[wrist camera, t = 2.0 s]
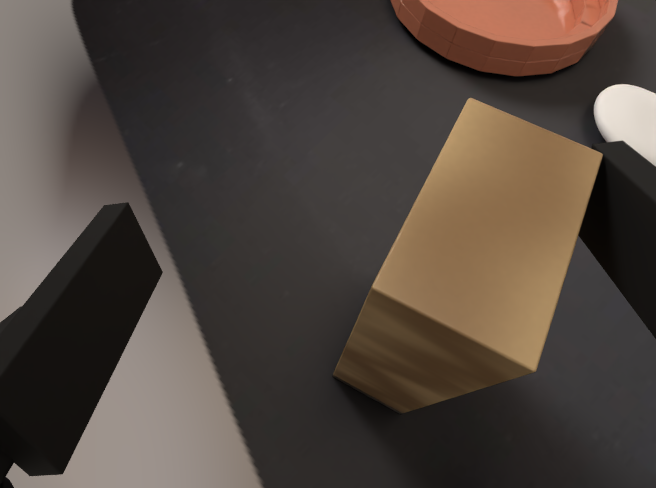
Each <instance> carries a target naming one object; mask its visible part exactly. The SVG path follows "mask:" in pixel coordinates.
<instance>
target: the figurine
mask: <svg viewBox="0 0 656 488" xmlns="http://www.w3.org/2000/svg"><path fill="white" fill-rule="evenodd" d="M594 118H595V122H596V125H597V127H598V130H599V131H600V133H601V135H602V137H603V138H604V139H605V141H606V142H614V141H622V140H623V141H624V142H625V143H627V144H628V145H629V146H630V147H632V148H633V149H634V150H635V151H637V152H638V153H639V154H640V155H642V156H643V157H644V158H645V159H647V160H648V161H649V162H651V163H652V164H653V165H654V166H656V94H655V93H653V92H650V91H648V90H645V89H643V88H640V87H637V86H633V85H627V84H620V85H613V86H610V87H608V88H606V89H605V90H603V91H602V92H601V93H600V94H599V95H598V97H597V99H596V101H595V104H594Z"/></svg>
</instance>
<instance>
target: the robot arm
mask: <svg viewBox="0 0 656 488" xmlns="http://www.w3.org/2000/svg"><path fill="white" fill-rule="evenodd" d="M591 149H593V150H595V151H598V152H600V153H602V154H603V157H602V160H601V163H600V167H599V170H598V173H597V176H596V179H595V183H594V186H593V189H592V192H591V196H590V199H589V202H588V205H587V208H586V212H585V215H584V218H583V221H582V225H581V228H580V231H579V234H578V235H579V237H580V238H581V239H582V241H583V242H584V243H585V245H586V246H587V247H588V249H589V250H590V251H591V253H592V254H593V255H594V257H595V258H596V259H597V261H598V262H599V263H600V265H601V266H602V267H603V269H604V270H605V271H606V273H607V274H608V275H609V277H610V278H611V279H612V281H613V282H614V283H615V285H616V286H617V287H618V289H619V290H620V292H621V293H622V294H623V296H624V297H625V298H626V300H627V301H628V302H629V304H630V305H631V306H632V308H633V309H634V310H635V312H636V313H637V314H638V316H639V317H640V318H641V320H642V321H643V322H644V324H645V325H646V326H647V328H648V329H649V330H650V332H651V333H652V334H653V336H654V337H655V338H656V166H654V165H653V164H652V163H651V162H649V161H648V160H647V159H645V158H644V157H643V156H642V155H640V154H639V153H638V152H637V151H635V150H634V149H633V148H632V147H630V146H629V145H628V144H627V143H625V142H624V141H623V140H622V141H614V142H606V143H598V144H592V148H591ZM161 275H162V270H161V268H160V266H159V264H158V262H157V260H156V258H155V256H154V254H153V252H152V250H151V248H150V246H149V244H148V241H147V240H146V238H145V235H144V234H143V231H142V229H141V227H140V225H139V223H138V221H137V219H136V217H135V215H134V213H133V211H132V209H131V207H130V205H129V203H120V204H112V205H104V206H103V208H102V209H101V210H100V211H99V213H98V214H97V215H96V216H95V217H94V219H93V220H92V221H91V222H90V224H89V225H88V226H87V227H86V229H85V230H84V231H83V232H82V233H81V235H80V236H79V237H78V238H77V240H76V241H75V242H74V243H73V245H72V246H71V247H70V248H69V250H68V251H67V252H66V253H65V254H64V256H63V257H62V258H61V259H60V261H59V262H58V263H57V264H56V266H55V267H54V268H53V269H52V270H51V272H50V273H49V274H48V275H47V277H46V278H45V279H44V280H43V282H42V283H41V284H40V285H39V287H38V288H37V289H36V290H35V292H34V293H33V294H32V295H31V296H30V298H29V299H28V300H27V301H26V303H25V304H24V305H23V306H22V307H19V308H18V309H17V310H16V311H14V312H13V313H12V314H11V315H9V316H8V317H7V318H6V319H4V320H3V321H2V322H0V488H14V487H13V485H12V483H11V482H10V480H9V479H7V478H6V475H7V473H8V471H9V470H10V468H11V466H12V465H13V463H15V464H17V465H18V466H19V467H20V468H21V469H23V471H25V472H26V473H27V474H28V475H29V476H39V475H40V476H41V475H58V474H63V473H64V471H65V469H66V467H67V464H68V462H69V460H70V458H71V456H72V454H73V452H74V450H75V448H76V446H77V444H78V442H79V440H80V438H81V436H82V434H83V432H84V430H85V428H86V426H87V424H88V422H89V420H90V418H91V416H92V414H93V412H94V410H95V408H96V406H97V404H98V402H99V400H100V398H101V396H102V394H103V392H104V390H105V388H106V386H107V384H108V382H109V380H110V377H111V375H112V373H113V372H114V370H115V368H116V366H117V364H118V362H119V360H120V358H121V356H122V353H123V351H124V349H125V347H126V345H127V343H128V341H129V339H130V337H131V335H132V333H133V331H134V329H135V327H136V325H137V323H138V321H139V319H140V317H141V315H142V313H143V311H144V309H145V307H146V305H147V303H148V301H149V299H150V297H151V295H152V293H153V291H154V289H155V287H156V285H157V283H158V281H159V279H160V277H161Z"/></svg>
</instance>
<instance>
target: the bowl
mask: <svg viewBox="0 0 656 488" xmlns="http://www.w3.org/2000/svg"><path fill="white" fill-rule="evenodd" d="M391 2H392V5H393V8H394V10H395V13H396V15H397V17H398V19H399V20H400V21H401V22H402V23H403V24H404V26H405V27H406V28H407V29H408V30H409V31H410V32H411V33H412V35H413V36H414V37H415V38H416V39H417V40H418V41H420V42H422V43H423V44H425V45H426V46H428V47H429V48H431V49H432V50H434V51H435V52H437V53H438V54H440V55H441V56H443V57H445V58H446V59H449V60H451V61H454V62H457V63H459V64H462V65H465V66H467V67H470V68H473V69H475V70H478V71H482V72H489V73H496V74H502V75H509V76H529V75H540V74H550V73H553V72H556V71H558V70H560V69H563V68H565V67H568V66H570V65H573V64H575V63H577V62H578V61H579V60H580V59H581V58H582V57H583V56H584V55H585V54H586V53H587V52H588V51H589V50H590V49H591V48H592V47H593V45H594V44H595V43H596V41H597V40H598V38H599V37H600V36H601V34H602V33H603V31H604V30H605V29H606V27H607V26H608V25H609V23H610V22H611V20H612V19H613V18H614V16H615V12H616V7H617V3H618V0H391Z"/></svg>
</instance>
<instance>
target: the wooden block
mask: <svg viewBox="0 0 656 488" xmlns="http://www.w3.org/2000/svg"><path fill="white" fill-rule="evenodd" d="M602 157H603V154H602V153H600V152H598V151H595V150H593V149H591V148H588V147H586V146H584V145H581V144H579V143H576V142H574V141H572V140H569V139H567V138H565V137H562V136H560V135H558V134H555V133H553V132H550V131H548V130H546V129H543V128H541V127H539V126H536V125H534V124H532V123H529V122H527V121H524V120H522V119H520V118H517V117H515V116H513V115H510V114H508V113H505V112H503V111H501V110H498V109H496V108H494V107H491V106H489V105H487V104H484V103H482V102H479V101H477V100H475V99H472V98H469V99H468V100H467V102H466V104H465V106H464V108H463V110H462V112H461V114H460V116H459V118H458V119H457V121H456V123H455V125H454V127H453V129H452V131H451V133H450V135H449V137H448V139H447V141H446V143H445V145H444V147H443V149H442V151H441V152H440V154H439V156H438V158H437V160H436V162H435V164H434V166H433V168H432V170H431V172H430V174H429V176H428V178H427V180H426V182H425V184H424V185H423V187H422V189H421V191H420V193H419V195H418V197H417V199H416V201H415V203H414V205H413V207H412V209H411V211H410V213H409V215H408V217H407V219H406V220H405V222H404V224H403V226H402V228H401V230H400V232H399V234H398V236H397V238H396V240H395V242H394V244H393V246H392V248H391V250H390V252H389V253H388V255H387V257H386V259H385V261H384V263H383V265H382V267H381V269H380V271H379V273H378V275H377V277H376V279H375V281H374V283H373V285H372V287H371V289H370V291H369V293H368V296H367V298H366V300H365V302H364V305H363V307H362V309H361V312H360V314H359V316H358V318H357V321H356V323H355V325H354V328H353V330H352V332H351V334H350V337H349V339H348V341H347V344H346V346H345V348H344V350H343V353H342V355H341V357H340V360H339V362H338V364H337V366H336V369H335V371H334V373H333V377H334V378H336V379H337V380H339V381H341V382H343V383H345V384H346V385H348V386H350V387H352V388H354V389H355V390H357V391H359V392H361V393H363V394H365V395H366V396H368V397H370V398H372V399H374V400H375V401H377V402H379V403H381V404H383V405H384V406H386V407H388V408H390V409H392V410H393V411H395V412H397V413H399V414H402V413H406V412H409V411H412V410H415V409H419V408H422V407H425V406H428V405H431V404H435V403H438V402H441V401H444V400H447V399H451V398H454V397H457V396H460V395H463V394H467V393H470V392H473V391H476V390H479V389H483V388H486V387H489V386H492V385H495V384H499V383H502V382H505V381H508V380H511V379H515V378H518V377H521V376H524V375H527V374H531V373H534V372H535V371H536V370H537V366H538V363H539V360H540V357H541V354H542V350H543V347H544V344H545V341H546V337H547V334H548V331H549V328H550V325H551V321H552V318H553V315H554V312H555V308H556V305H557V302H558V299H559V296H560V292H561V289H562V286H563V283H564V279H565V276H566V273H567V270H568V266H569V263H570V260H571V257H572V254H573V250H574V247H575V244H576V241H577V237H578V234H579V231H580V228H581V225H582V221H583V218H584V215H585V212H586V208H587V205H588V202H589V199H590V196H591V192H592V189H593V186H594V183H595V179H596V176H597V173H598V170H599V167H600V163H601V160H602Z"/></svg>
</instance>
